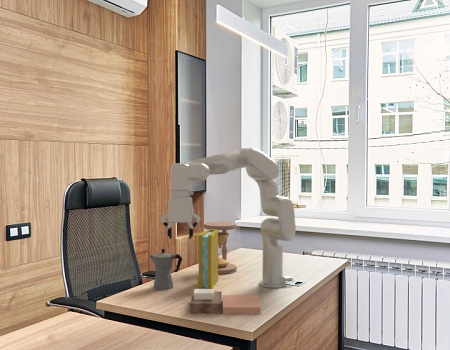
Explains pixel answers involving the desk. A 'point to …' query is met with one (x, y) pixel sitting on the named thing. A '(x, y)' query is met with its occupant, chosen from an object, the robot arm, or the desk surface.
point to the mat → (241, 304)
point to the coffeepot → (164, 269)
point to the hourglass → (222, 239)
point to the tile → (204, 294)
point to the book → (208, 259)
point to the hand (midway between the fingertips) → (180, 238)
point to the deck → (207, 305)
